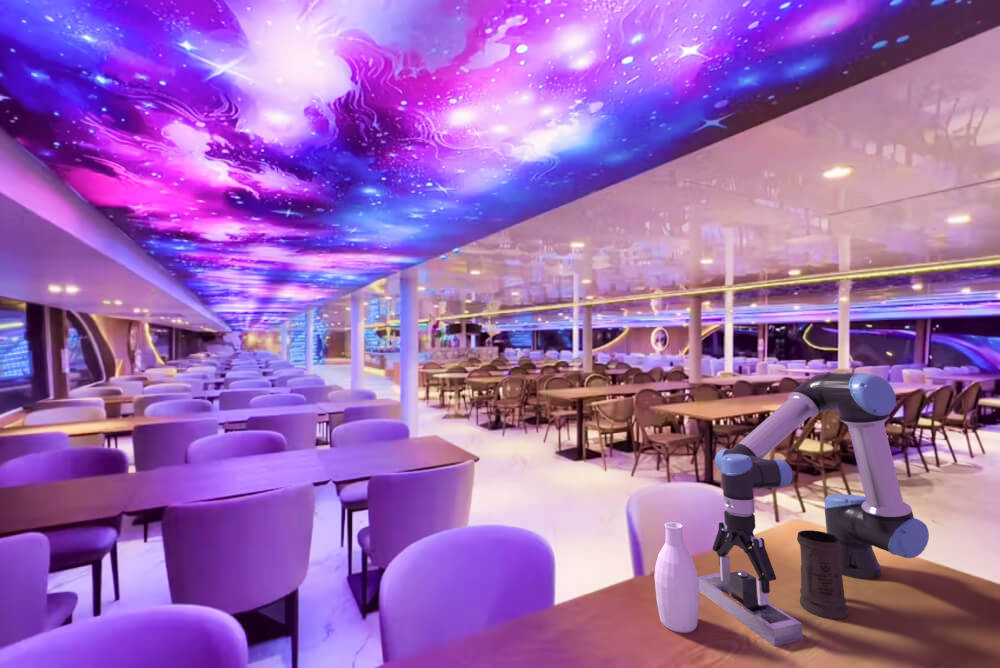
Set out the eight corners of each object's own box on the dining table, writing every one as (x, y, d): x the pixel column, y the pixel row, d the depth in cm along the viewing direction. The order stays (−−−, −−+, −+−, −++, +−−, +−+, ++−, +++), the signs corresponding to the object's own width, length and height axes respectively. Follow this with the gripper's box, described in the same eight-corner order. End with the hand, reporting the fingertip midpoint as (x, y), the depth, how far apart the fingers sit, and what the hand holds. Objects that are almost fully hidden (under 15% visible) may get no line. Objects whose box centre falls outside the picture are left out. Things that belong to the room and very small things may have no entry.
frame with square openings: (721, 586, 136) (720, 571, 137) (802, 639, 110) (801, 621, 110) (697, 590, 134) (696, 575, 135) (774, 646, 108) (773, 627, 108)
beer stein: (858, 622, 116) (850, 542, 119) (812, 619, 118) (805, 539, 121) (828, 596, 131) (821, 525, 134) (787, 593, 133) (781, 523, 136)
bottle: (680, 641, 111) (675, 536, 112) (647, 618, 120) (642, 522, 122) (711, 627, 116) (705, 527, 117) (676, 607, 126) (671, 515, 127)
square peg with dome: (745, 607, 125) (743, 568, 126) (758, 615, 121) (755, 575, 121) (731, 609, 124) (729, 570, 124) (744, 618, 119) (742, 577, 120)
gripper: (697, 500, 135) (701, 572, 133) (764, 529, 111) (770, 618, 110) (718, 497, 137) (722, 569, 135) (789, 526, 113) (794, 613, 111)
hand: (743, 591), depth 122 cm, fingers open, 13 cm apart
